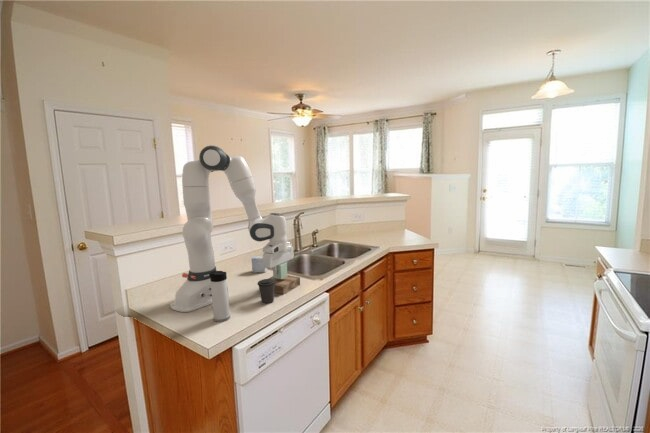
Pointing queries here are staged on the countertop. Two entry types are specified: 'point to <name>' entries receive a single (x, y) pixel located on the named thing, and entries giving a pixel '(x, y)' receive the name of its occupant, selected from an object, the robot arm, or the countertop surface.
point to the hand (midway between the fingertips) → (280, 272)
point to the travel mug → (220, 295)
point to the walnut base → (285, 284)
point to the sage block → (281, 271)
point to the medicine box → (258, 264)
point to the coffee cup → (266, 290)
